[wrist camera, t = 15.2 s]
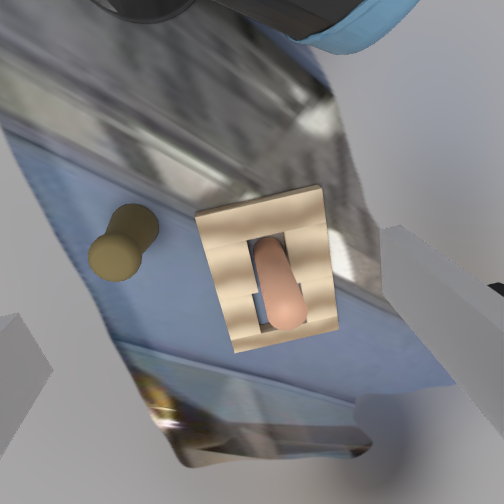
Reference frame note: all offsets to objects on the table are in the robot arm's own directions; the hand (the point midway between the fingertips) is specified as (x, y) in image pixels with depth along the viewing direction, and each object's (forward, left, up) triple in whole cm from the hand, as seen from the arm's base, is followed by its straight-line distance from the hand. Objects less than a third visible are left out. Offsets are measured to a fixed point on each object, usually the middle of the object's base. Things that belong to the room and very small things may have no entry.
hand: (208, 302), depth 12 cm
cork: (+6, -12, -32) cm, 35 cm away
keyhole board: (+17, +4, -32) cm, 36 cm away
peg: (+14, +4, -32) cm, 35 cm away
